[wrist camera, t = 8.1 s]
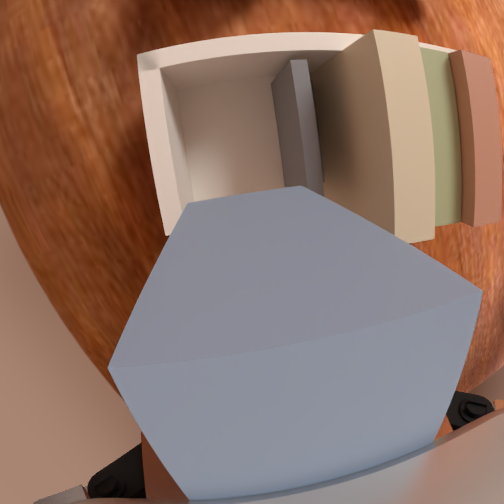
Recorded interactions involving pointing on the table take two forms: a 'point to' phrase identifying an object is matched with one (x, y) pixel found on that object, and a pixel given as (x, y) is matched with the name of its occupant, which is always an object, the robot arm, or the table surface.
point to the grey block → (289, 345)
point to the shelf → (220, 113)
